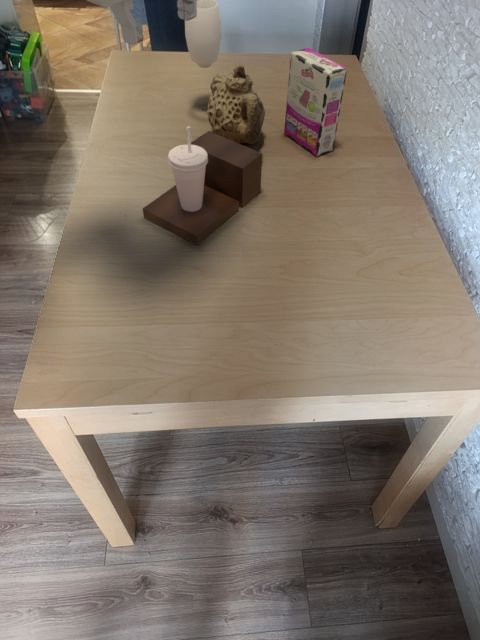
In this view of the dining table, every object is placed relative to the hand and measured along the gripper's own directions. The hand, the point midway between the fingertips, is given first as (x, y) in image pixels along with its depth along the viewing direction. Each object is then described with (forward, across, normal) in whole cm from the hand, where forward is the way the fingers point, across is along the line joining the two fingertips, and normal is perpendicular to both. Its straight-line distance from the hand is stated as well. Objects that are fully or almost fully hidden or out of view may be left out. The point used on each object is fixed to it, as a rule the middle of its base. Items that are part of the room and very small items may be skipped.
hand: (161, 29), depth 58 cm
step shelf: (+33, -12, -4) cm, 35 cm away
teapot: (+33, -34, -12) cm, 49 cm away
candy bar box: (+32, -43, 0) cm, 54 cm away
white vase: (+33, -40, -25) cm, 57 cm away
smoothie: (+31, -9, -4) cm, 33 cm away
